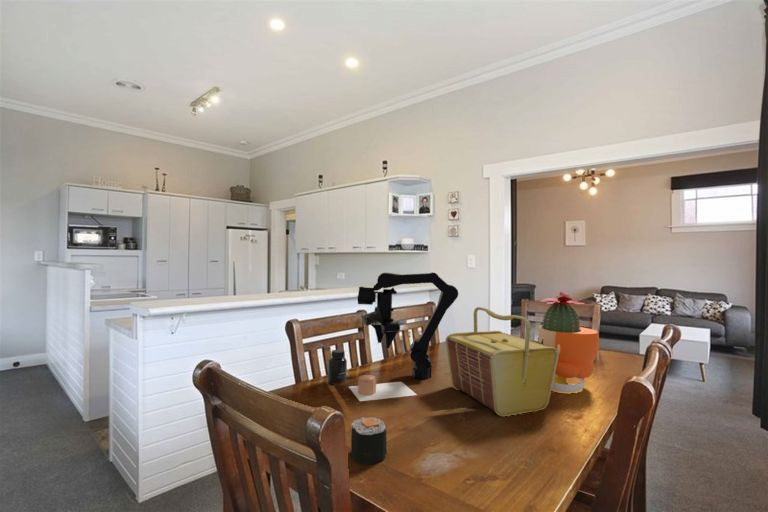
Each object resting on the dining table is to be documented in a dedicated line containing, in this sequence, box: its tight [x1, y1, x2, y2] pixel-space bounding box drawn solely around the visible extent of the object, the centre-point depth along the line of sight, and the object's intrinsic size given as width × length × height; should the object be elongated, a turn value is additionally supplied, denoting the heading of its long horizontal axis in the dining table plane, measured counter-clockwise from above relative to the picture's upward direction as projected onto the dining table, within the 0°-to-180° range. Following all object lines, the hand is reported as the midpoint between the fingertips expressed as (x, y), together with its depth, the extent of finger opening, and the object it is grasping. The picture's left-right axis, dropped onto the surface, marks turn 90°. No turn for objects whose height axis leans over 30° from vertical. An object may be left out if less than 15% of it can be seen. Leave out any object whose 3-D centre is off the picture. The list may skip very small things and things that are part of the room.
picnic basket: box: [445, 306, 559, 418], centre depth 130 cm, size 29×26×30 cm
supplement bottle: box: [327, 349, 348, 387], centre depth 143 cm, size 7×7×12 cm
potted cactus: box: [537, 291, 601, 392], centre depth 147 cm, size 22×22×35 cm
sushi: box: [350, 416, 388, 466], centre depth 92 cm, size 8×8×8 cm
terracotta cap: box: [357, 374, 377, 395], centre depth 130 cm, size 6×6×5 cm
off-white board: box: [348, 381, 418, 402], centre depth 132 cm, size 20×14×2 cm
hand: (383, 345), depth 149 cm, fingers open, 9 cm apart
